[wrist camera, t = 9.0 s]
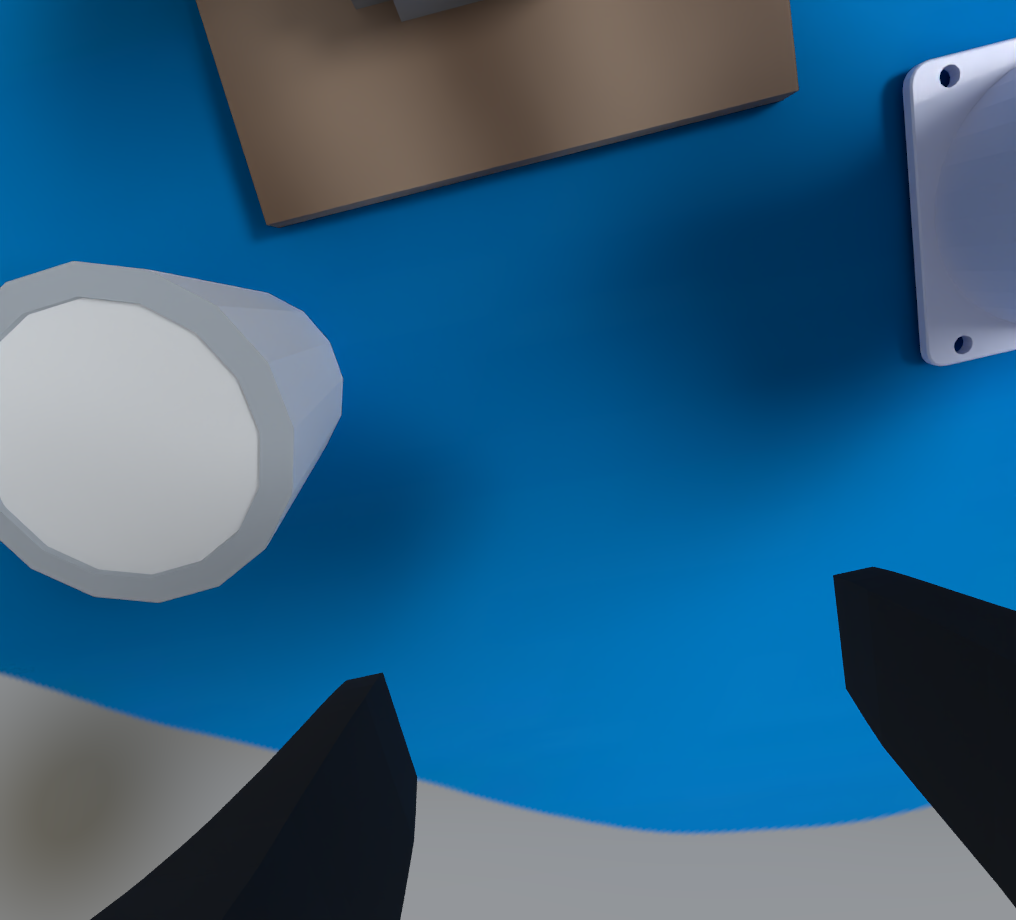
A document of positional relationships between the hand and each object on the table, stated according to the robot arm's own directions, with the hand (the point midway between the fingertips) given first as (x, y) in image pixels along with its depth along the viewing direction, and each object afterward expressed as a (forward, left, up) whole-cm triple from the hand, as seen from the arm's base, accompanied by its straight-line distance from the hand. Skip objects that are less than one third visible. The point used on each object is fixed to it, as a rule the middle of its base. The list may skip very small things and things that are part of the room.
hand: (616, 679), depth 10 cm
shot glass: (+8, -5, -11) cm, 14 cm away
